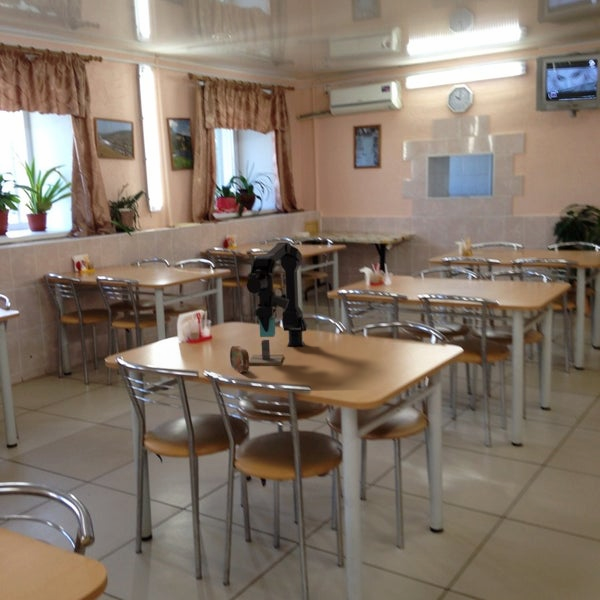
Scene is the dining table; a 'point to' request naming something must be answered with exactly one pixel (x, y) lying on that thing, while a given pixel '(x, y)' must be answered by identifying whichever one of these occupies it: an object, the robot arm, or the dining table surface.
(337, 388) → the dining table surface
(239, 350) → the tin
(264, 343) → the post stand
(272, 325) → the teal rectangular block
